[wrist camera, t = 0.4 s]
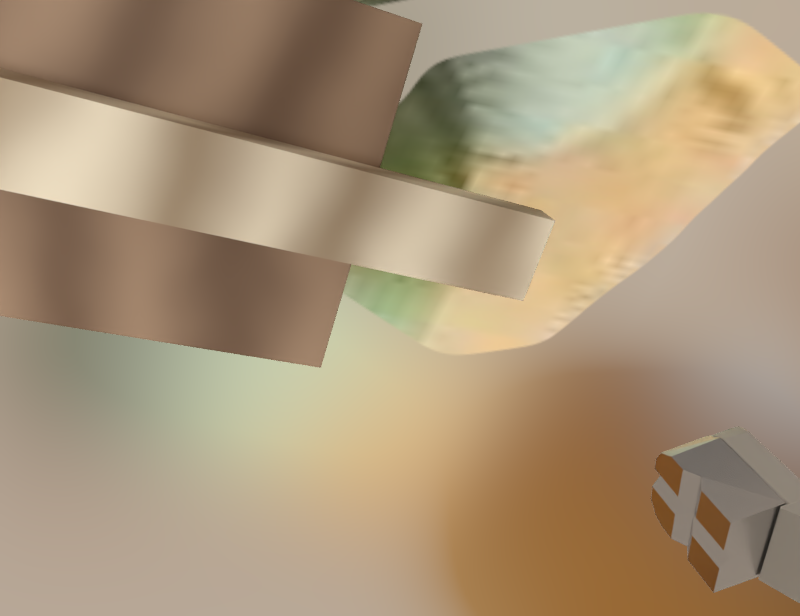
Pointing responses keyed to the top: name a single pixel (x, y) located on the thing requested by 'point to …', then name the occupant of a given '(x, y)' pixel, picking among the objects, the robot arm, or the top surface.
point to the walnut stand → (216, 104)
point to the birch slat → (258, 190)
